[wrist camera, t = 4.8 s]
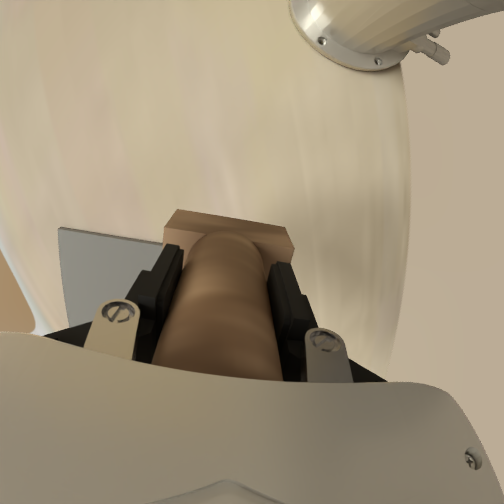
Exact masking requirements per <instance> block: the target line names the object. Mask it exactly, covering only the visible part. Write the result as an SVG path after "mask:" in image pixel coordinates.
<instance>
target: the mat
mask: <svg viewBox="0 0 504 504" xmlns="http://www.w3.org/2000/svg"><path fill="white" fill-rule="evenodd" d="M58 243H59V256H60V267H61V276H62V285H63V292H64V299H65V305H66V311H67V317H68V322H69V327H70V328H71V327H74V326H77V325H81V324H84V323H87V322H91V321H93V319H94V317H95V314H96V312H97V309H98V308H99V306H100V305H101V304H102V303H104V302H106V301H108V300H112V299H125V297H126V296H127V294H128V292H129V290H130V289H131V287H132V285H133V284H134V282H135V280H136V279H137V277H138V275H139V274H140V272H141V271H142V270H147V271H151V270H152V268H153V266H154V264H155V263H156V261H157V259H158V257H159V256H160V254H161V252H162V248H163V244H162V243H156V242H150V241H143V240H137V239H131V238H125V237H119V236H112V235H106V234H100V233H94V232H88V231H82V230H76V229H70V228H64V227H60V228H58Z"/></svg>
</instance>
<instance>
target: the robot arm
mask: <svg viewBox="0 0 504 504" xmlns="http://www.w3.org/2000/svg"><path fill="white" fill-rule="evenodd" d="M289 9H290V13H291V17H292V19H293V22H294V24H295V26H296V28H297V29H298V31H299V32H300V33H301V35H302V36H303V38H304V39H305V40H306V41H307V42H308V43H309V44H310V45H311V46H312V47H313V48H314V49H316V50H317V51H318V52H319V53H321V54H322V55H324V56H325V57H327V58H329V59H330V60H332V61H333V62H336V63H338V64H340V65H343V66H345V67H348V68H352V69H356V70H362V71H378V70H382V69H386V68H389V67H391V66H394V65H396V64H398V63H399V62H400V61H401V60H403V59H404V57H405V56H406V55H407V54H408V52H409V50H412V51H414V52H415V53H419V52H422V53H424V54H426V55H427V56H428V57H429V58H431V59H433V60H435V61H436V62H438V63H439V64H441V65H445V64H446V63H447V62H448V61H449V59H450V53H449V51H448V50H446V49H445V48H443V47H442V46H440V45H439V44H437V43H435V42H432V41H431V40H429V39H427V36H426V34H429V35H430V36H432V37H434V38H437V37H438V36H439V34H440V29H442V28H445V27H448V26H451V25H454V24H457V23H460V22H463V21H466V20H470V19H473V18H476V17H480V16H483V15H487V14H491V13H495V12H500V11H504V0H289ZM318 41H320V42H321V43H322V45H321V44H319V42H318ZM374 61H375V62H376V64H375V62H374ZM183 258H184V250H183V249H180V245H174V244H168V243H167V244H166V245H165V247H164V249H163V250H162V252H161V254H160V256H159V257H158V259H157V261H156V263H155V264H154V266H153V268H152V270H151V271H147V270H142V271H141V272H140V274H139V275H138V277H137V279H136V280H135V282H134V284H133V285H132V287H131V289H130V290H129V292H128V294H127V296H126V297H125V299H112V300H108V301H106V302H104V303H102V304H101V305H100V306H99V308H98V309H97V312H96V314H95V317H94V319H93V321H91V322H87V323H84V324H81V325H77V326H74V327H71V328H67V329H64V330H61V331H57V332H54V333H50V334H47V335H44V336H38V335H34V334H28V333H21V332H0V504H504V495H503V492H502V489H501V487H500V484H499V481H498V479H497V477H496V474H495V472H494V470H493V467H492V465H491V463H490V460H489V458H488V456H487V454H486V452H485V450H484V447H483V445H482V443H481V441H480V440H479V438H478V436H477V434H476V432H475V430H474V429H473V427H472V425H471V423H470V422H469V420H468V418H467V417H466V415H465V414H464V412H463V410H462V409H461V408H460V406H459V405H458V404H457V402H456V401H455V400H454V399H453V397H452V396H450V394H448V393H447V392H445V391H443V390H441V389H439V388H436V387H433V386H429V385H426V384H420V383H413V382H387V381H386V380H384V379H383V378H381V377H379V376H377V375H376V374H374V373H372V372H371V371H369V370H367V369H366V368H364V367H362V366H361V365H359V364H357V363H356V362H354V361H352V360H351V359H349V358H348V355H347V351H346V347H345V343H344V341H343V339H342V338H341V337H340V336H339V335H338V334H336V333H335V332H333V331H331V330H328V329H324V328H318V325H317V322H316V320H315V317H314V314H313V312H312V309H311V306H310V303H309V301H308V298H307V296H306V295H303V294H301V291H300V288H299V286H298V283H297V280H296V277H295V275H294V272H293V269H292V266H291V264H290V263H286V262H280V261H277V262H276V264H271V267H270V271H269V275H268V279H267V289H268V294H269V300H270V306H271V311H272V317H273V323H274V329H275V335H276V340H277V346H278V352H279V358H280V364H281V370H282V376H283V381H268V380H256V379H245V378H235V377H227V376H218V375H211V374H203V373H197V372H190V371H184V370H178V369H172V368H167V367H162V366H157V365H152V364H151V363H152V360H153V356H154V353H155V350H156V347H157V344H158V340H159V337H160V334H161V331H162V328H163V325H164V322H165V319H166V316H167V313H168V310H169V307H170V304H171V301H172V298H173V295H174V292H175V289H176V287H177V284H178V281H179V278H180V275H181V272H182V268H183Z"/></svg>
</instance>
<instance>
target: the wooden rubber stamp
mask: <svg viewBox="0 0 504 504" xmlns="http://www.w3.org/2000/svg"><path fill="white" fill-rule="evenodd" d="M167 243H168V244H174V245H180V249H183V250H184V258H183V268H182V272H181V275H180V278H179V281H178V284H177V287H176V289H175V292H174V295H173V298H172V301H171V304H170V307H169V310H168V313H167V316H166V319H165V322H164V325H163V328H162V331H161V334H160V337H159V340H158V344H157V347H156V350H155V353H154V356H153V360H152V363H151V364H152V365H157V366H162V367H167V368H172V369H178V370H184V371H190V372H197V373H203V374H211V375H218V376H227V377H235V378H245V379H256V380H268V381H283V376H282V370H281V364H280V358H279V352H278V346H277V340H276V335H275V329H274V323H273V317H272V311H271V306H270V300H269V294H268V289H267V279H268V275H269V271H270V267H271V264H276V262H277V261H280V262H286V263H291V259H292V256H293V252H294V247H293V244H292V242H291V240H290V238H289V235H288V233H287V231H286V229H285V227H281V226H275V225H270V224H264V223H259V222H253V221H247V220H241V219H235V218H229V217H223V216H217V215H211V214H205V213H199V212H192V211H186V210H179V209H177V210H176V211H175V213H174V214H173V216H172V217H171V218H170V220H169V221H168V223H167V224H166V225H165V227H164V235H163V248H162V250H163V249H164V247H165V245H166V244H167Z"/></svg>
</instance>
